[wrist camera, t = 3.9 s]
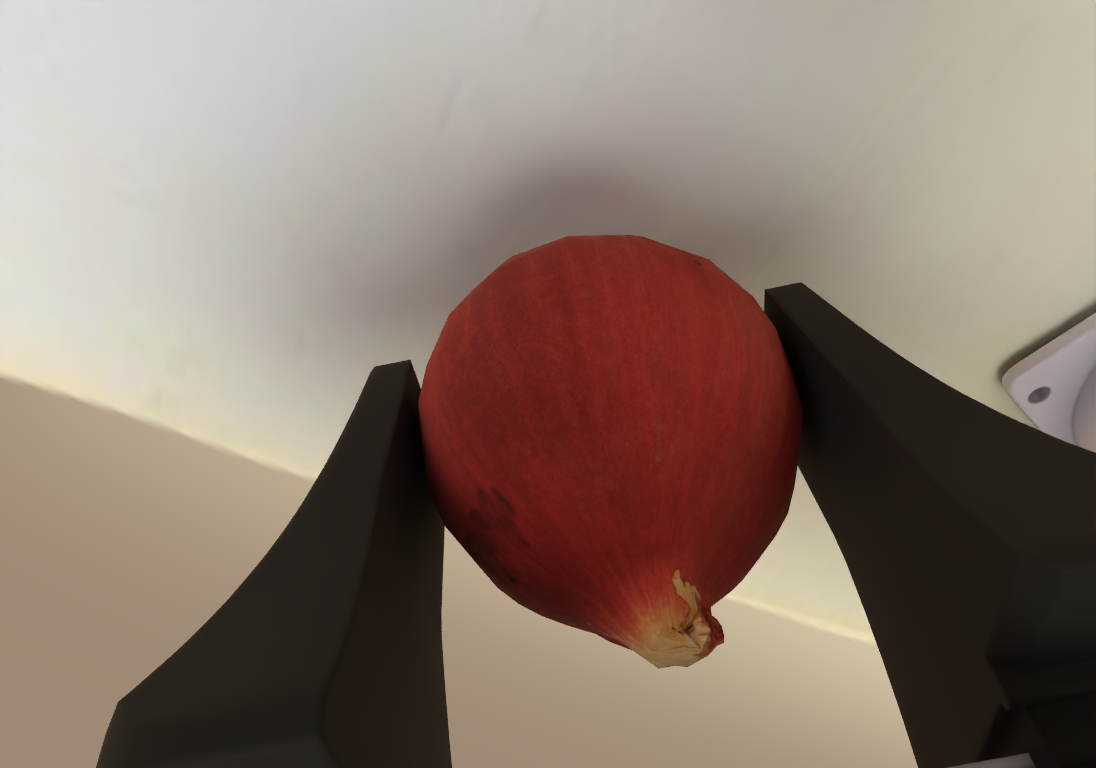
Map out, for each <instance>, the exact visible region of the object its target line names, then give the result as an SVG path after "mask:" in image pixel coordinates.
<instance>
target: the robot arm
mask: <svg viewBox="0 0 1096 768" xmlns="http://www.w3.org/2000/svg"><path fill="white" fill-rule="evenodd" d="M764 312H765V314H766V315H767V317H768V318H769V319H770V321H771V322H772V323H773V325H774V326H775V328H776V330H777V333H778V336H779V338H780V341H781V343H782V346H783V349H784V351H785V354H786V356H787V359H788V362H789V364H790V367H791V369H792V373H793V376H794V379H795V382H796V386H797V390H798V394H799V397H800V401H801V405H802V409H803V420H802V434H801V446H800V453H799V459H798V467H799V469H800V471H801V473H802V474H803V476H804V478H805V480H806V482H807V484H808V486H809V488H810V490H811V492H812V494H813V496H814V498H815V500H816V502H817V503H818V505H819V507H820V509H821V511H822V513H823V515H824V517H825V519H826V521H827V523H828V525H829V527H830V529H831V531H832V532H833V534H834V536H835V539H836V541H837V543H838V545H839V547H840V549H841V552H842V554H843V556H844V558H845V561H846V563H847V566H848V568H849V571H850V573H851V576H852V579H853V581H854V584H855V586H856V589H857V592H858V594H859V597H860V599H861V602H862V605H863V607H864V610H865V613H866V615H867V618H868V621H869V624H870V626H871V629H872V632H873V635H874V637H875V640H876V643H877V646H878V648H879V651H880V654H881V657H882V659H883V662H884V665H885V668H886V671H887V674H888V677H889V680H890V683H891V685H892V689H893V692H894V695H895V697H896V700H897V703H898V706H899V709H900V712H901V715H902V718H903V721H904V724H905V727H906V730H907V733H908V736H909V740H910V743H911V746H912V749H913V753H914V756H915V759H916V762H917V765H918V768H1096V313H1094V314H1093V315H1091V316H1089V317H1088V318H1086V319H1085V320H1083V321H1082V322H1080V323H1079V324H1077V325H1075V326H1074V327H1072V328H1071V329H1069V330H1068V331H1066V332H1065V333H1063V334H1061V335H1060V336H1058V337H1057V338H1055V339H1054V340H1052V341H1051V342H1049V343H1047V344H1046V345H1044V346H1043V347H1041V348H1040V349H1038V350H1037V351H1035V352H1033V353H1032V354H1030V355H1029V356H1027V357H1026V358H1024V359H1023V360H1021V361H1020V362H1018V363H1016V364H1015V365H1013V366H1012V367H1011V368H1010V369H1009V370H1008V371H1007V372H1006V373H1005V375H1004V376H1003V379H1002V385H1003V388H1004V389H1005V390H1006V392H1007V393H1008V394H1009V395H1010V397H1011V398H1012V399H1013V400H1014V401H1015V402H1016V403H1017V405H1018V406H1019V407H1020V408H1021V409H1022V410H1023V411H1024V412H1025V414H1026V415H1027V416H1028V417H1029V418H1030V419H1031V420H1032V422H1033V423H1034V424H1035V425H1036V426H1037V427H1038V428H1039V429H1040V431H1039V430H1037V429H1035V428H1032V427H1030V426H1028V425H1025V424H1023V423H1021V422H1019V421H1016V420H1014V419H1012V418H1010V417H1008V416H1006V415H1003V414H1001V413H999V412H997V411H995V410H993V409H991V408H989V407H988V406H986V405H984V404H982V403H980V402H978V401H976V400H974V399H972V398H970V397H968V396H966V395H964V394H962V393H961V392H959V391H957V390H955V389H953V388H952V387H950V386H948V385H946V384H945V383H943V382H941V381H940V380H938V379H936V378H935V377H933V376H931V375H930V374H928V373H927V372H925V371H923V370H922V369H920V368H919V367H917V366H915V365H914V364H912V363H910V362H909V361H907V360H906V359H904V358H903V357H901V356H900V355H898V354H897V353H896V352H894V351H893V350H891V349H890V348H888V347H887V346H886V345H884V344H883V343H881V342H880V341H878V340H877V339H876V338H874V337H873V336H871V335H870V334H869V333H867V332H866V331H865V330H863V329H862V328H861V327H859V326H858V325H857V324H855V323H854V322H853V321H851V320H850V319H849V318H847V317H846V316H845V315H843V314H842V313H841V312H839V311H838V310H837V309H836V308H834V307H833V306H832V305H830V304H829V303H828V302H827V301H825V300H824V299H823V298H821V297H820V296H819V295H817V294H816V293H815V292H814V291H812V290H811V289H810V288H808V287H807V286H806V285H804V284H803V283H802V282H800V283H795V284H790V285H785V286H780V287H775V288H770V289H765V296H764ZM420 392H421V388H420V385H419V382H418V380H417V377H416V374H415V371H414V368H413V366H412V363H411V360H406V361H401V362H396V363H391V364H386V365H381V366H375V367H374V368H373V370H372V371H371V373H370V375H369V377H368V379H367V381H366V384H365V386H364V388H363V390H362V393H361V395H360V397H359V399H358V401H357V403H356V406H355V408H354V410H353V412H352V414H351V416H350V418H349V420H348V422H347V424H346V426H345V428H344V430H343V432H342V434H341V436H340V438H339V440H338V442H337V444H336V446H335V447H334V449H333V451H332V453H331V455H330V457H329V459H328V461H327V463H326V464H325V466H324V468H323V470H322V471H321V473H320V475H319V476H318V478H317V480H316V481H315V483H314V485H313V486H312V488H311V490H310V491H309V493H308V495H307V496H306V498H305V500H304V501H303V503H302V505H301V506H300V507H299V509H298V510H297V512H296V514H295V515H294V516H293V518H292V519H291V521H290V522H289V524H288V525H287V527H286V528H285V530H284V531H283V532H282V534H281V535H280V536H279V538H278V539H277V541H276V542H275V543H274V545H273V546H272V547H271V549H270V550H269V551H268V553H267V554H266V555H265V556H264V558H263V559H262V560H261V561H260V563H259V564H258V565H257V566H256V567H255V569H254V570H253V571H252V572H251V573H250V575H249V576H248V577H247V578H246V579H245V581H244V582H243V583H242V584H241V585H240V586H239V588H238V589H237V590H236V591H235V592H234V593H233V595H232V596H231V597H230V598H229V599H228V600H227V602H225V603H224V604H223V605H222V606H221V608H220V609H219V610H218V611H217V612H216V613H215V614H214V615H213V616H212V617H211V618H210V619H209V620H208V621H207V622H206V623H205V624H204V625H203V626H202V627H201V628H200V629H199V630H198V631H197V632H196V633H195V634H194V635H193V636H192V637H191V638H190V639H189V640H188V641H187V642H186V643H185V644H184V645H183V646H182V647H180V649H178V650H177V651H176V652H175V653H174V654H173V655H172V656H171V657H170V658H169V659H167V660H166V661H165V662H164V663H163V664H162V665H161V666H160V667H158V668H157V669H156V670H155V671H154V672H152V673H151V674H150V675H149V676H148V677H147V678H146V679H145V680H143V681H142V682H141V683H140V684H139V685H138V686H136V687H135V688H134V689H133V690H132V691H131V692H130V693H128V694H127V695H126V696H125V697H124V698H122V699H121V700H120V701H119V702H118V704H117V706H116V709H115V712H114V714H113V717H112V719H111V722H110V724H109V727H108V729H107V732H106V735H105V739H104V742H103V746H102V749H101V752H100V756H99V759H98V763H97V766H96V768H452V764H451V753H450V743H449V730H448V718H447V705H446V693H445V680H444V665H443V650H442V634H441V632H442V631H441V607H442V580H443V555H444V554H443V552H444V526H445V525H444V523H443V521H442V519H441V517H440V515H439V513H438V511H437V509H436V507H435V505H434V503H433V500H432V498H431V496H430V494H429V488H428V482H427V476H426V470H425V464H424V456H423V449H422V439H421V429H420V419H419V409H418V401H419V397H420Z"/></svg>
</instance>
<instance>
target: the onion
mask: <svg viewBox="0 0 1096 768" xmlns="http://www.w3.org/2000/svg"><path fill="white" fill-rule="evenodd" d="M418 409H419V419H420V429H421V439H422V449H423V456H424V464H425V470H426V476H427V482H428V488H429V494H430V496H431V498H432V500H433V503H434V505H435V507H436V509H437V511H438V513H439V515H440V517H441V519H442V521H443V523H444V525H445V527H446V528H447V529H448V530H449V531H450V532H451V534H452V535H453V536H454V537H455V538H456V540H457V541H458V542H459V543H460V544H461V545H462V547H463V548H464V549H465V550H466V551H467V552H468V554H469V555H470V556H471V557H472V558H473V560H474V561H475V562H476V563H477V564H478V566H479V567H480V568H481V569H482V570H483V571H484V573H486V575H487V576H488V577H489V578H490V579H491V581H492V582H493V583H494V584H495V585H496V586H497V588H499V589H500V590H501V591H503V592H504V593H505V594H507V595H508V596H509V597H510V598H512V599H513V600H515V601H516V602H517V603H518V604H520V605H522V606H524V607H526V608H528V609H530V610H532V611H533V612H535V613H537V614H539V615H541V616H544V617H546V618H549V619H552V620H554V621H557V622H560V623H562V624H565V625H568V626H571V627H575V628H578V629H581V630H585V631H588V632H592V633H595V634H597V635H599V636H601V637H602V638H604V639H606V640H608V641H609V642H612V643H615V644H617V645H620V646H622V647H625V648H627V649H630V650H633V651H635V652H636V653H637V654H639V655H640V656H642V657H643V658H644V659H646V660H647V661H649V662H650V663H651V664H653V665H654V666H656V667H657V668H664V667H670V666H683V667H688V666H690V665H692V664H694V663H696V662H698V661H699V660H701V659H703V658H704V657H706V656H708V655H709V654H710V653H711V652H712V651H713V649H714V648H715V647H716V646H717V645H720V644H722V643H724V634H723V630H722V626H721V625H720V623H719V622H718V620H717V619H716V618H714V617H713V616H712V615H711V606H713V605H714V604H715V603H716V602H718V601H719V600H720V599H722V598H723V597H724V596H726V595H727V594H728V593H729V592H731V591H732V590H733V589H734V588H735V587H736V586H737V585H738V584H739V583H740V582H741V581H742V580H743V579H744V578H745V576H746V575H747V574H748V572H749V571H750V570H751V568H752V567H753V566H754V564H755V563H756V562H757V560H758V559H759V558H760V556H761V555H762V554H763V552H764V551H765V550H766V548H767V547H768V545H769V544H770V543H771V541H772V540H773V539H774V537H775V536H776V534H777V532H778V531H779V529H780V527H781V525H782V523H783V521H784V519H785V518H786V516H787V514H788V510H789V506H790V502H791V498H792V494H793V490H794V485H795V479H796V472H797V466H798V459H799V453H800V446H801V434H802V420H803V409H802V405H801V401H800V397H799V394H798V390H797V386H796V382H795V379H794V376H793V373H792V369H791V367H790V364H789V362H788V359H787V356H786V354H785V351H784V349H783V346H782V343H781V341H780V338H779V336H778V333H777V330H776V328H775V326H774V325H773V323H772V322H771V321H770V319H769V318H768V317H767V315H766V314H765V312H764V311H763V310H762V308H761V307H760V306H759V304H758V303H757V301H756V300H755V299H754V297H753V296H751V295H750V294H749V293H748V292H747V291H746V290H744V289H743V288H742V287H741V286H740V285H738V284H737V283H736V282H735V281H734V280H733V279H731V278H730V277H729V276H728V275H727V274H726V273H724V272H723V271H722V270H721V269H720V268H719V267H717V266H716V265H715V264H714V263H713V262H712V261H710V260H709V259H706V258H703V257H700V256H697V255H694V254H691V253H688V252H685V251H683V250H680V249H677V248H674V247H671V246H668V245H665V244H662V243H659V242H656V241H653V240H650V239H647V238H645V237H640V236H632V235H599V236H567V237H564V238H561V239H559V240H556V241H553V242H550V243H548V244H545V245H542V246H539V247H537V248H534V249H531V250H529V251H526V252H523V253H520V254H518V255H515V256H512V257H511V258H510V259H508V260H507V261H506V262H505V263H503V264H502V265H501V266H499V267H498V268H497V269H496V270H495V271H494V272H492V273H491V274H490V275H489V276H488V277H487V278H486V279H485V280H484V281H482V282H481V283H480V284H479V285H478V286H477V287H476V288H475V289H473V290H472V291H471V292H470V293H469V294H468V295H467V296H466V297H465V299H464V300H463V301H462V302H461V303H460V304H459V305H458V306H457V307H456V308H455V309H454V310H453V311H452V312H451V313H450V314H449V316H448V319H447V321H446V323H445V325H444V328H443V330H442V332H441V334H440V337H439V339H438V341H437V343H436V346H435V348H434V350H433V352H432V355H431V357H430V359H429V361H428V364H427V366H426V371H425V375H424V379H423V384H422V388H421V392H420V397H419V401H418Z"/></svg>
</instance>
